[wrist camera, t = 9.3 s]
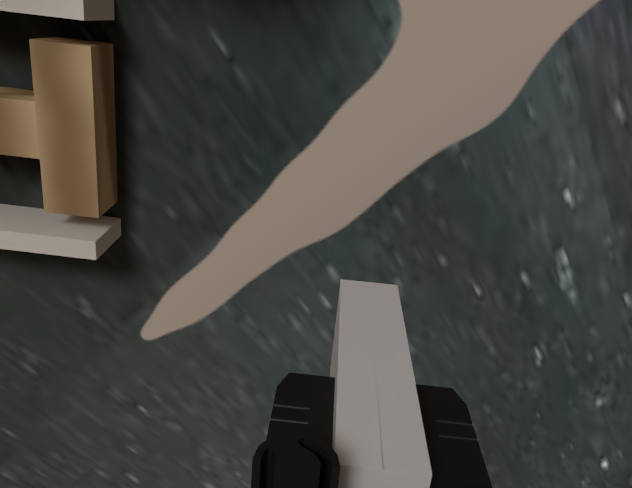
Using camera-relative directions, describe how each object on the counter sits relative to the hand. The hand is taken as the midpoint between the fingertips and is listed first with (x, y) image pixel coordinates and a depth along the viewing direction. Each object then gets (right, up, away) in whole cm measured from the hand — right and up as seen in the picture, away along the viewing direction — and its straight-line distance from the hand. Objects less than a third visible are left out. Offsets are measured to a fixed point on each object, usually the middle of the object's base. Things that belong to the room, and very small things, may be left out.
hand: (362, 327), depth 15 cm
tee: (-22, +12, +27) cm, 36 cm away
